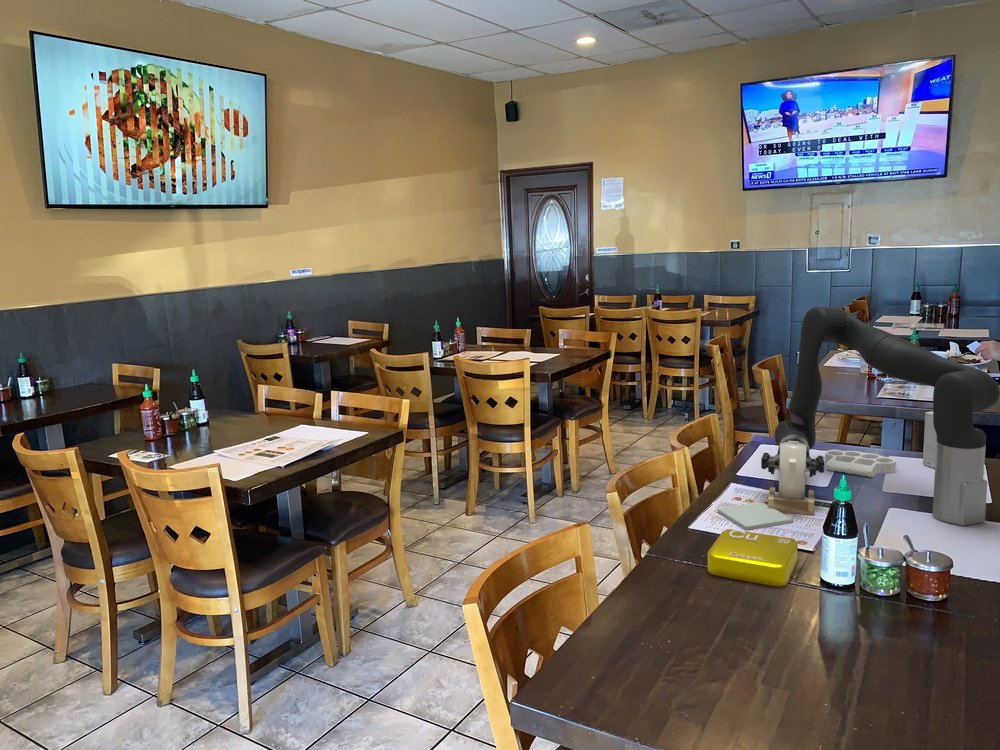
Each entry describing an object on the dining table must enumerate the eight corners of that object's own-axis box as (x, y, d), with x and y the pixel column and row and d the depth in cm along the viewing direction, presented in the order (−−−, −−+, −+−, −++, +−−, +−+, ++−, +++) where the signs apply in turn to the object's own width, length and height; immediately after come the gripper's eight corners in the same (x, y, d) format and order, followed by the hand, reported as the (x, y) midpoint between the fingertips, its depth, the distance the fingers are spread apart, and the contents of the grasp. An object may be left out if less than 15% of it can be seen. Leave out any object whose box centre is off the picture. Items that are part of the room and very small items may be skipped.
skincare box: (939, 470, 199) (942, 416, 196) (921, 464, 204) (923, 411, 202) (964, 466, 201) (967, 412, 198) (945, 460, 207) (948, 407, 204)
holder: (769, 498, 185) (770, 487, 185) (813, 502, 181) (814, 490, 181) (768, 511, 177) (768, 499, 177) (813, 514, 174) (814, 502, 173)
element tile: (704, 575, 148) (704, 552, 147) (724, 546, 160) (724, 525, 160) (785, 590, 140) (785, 566, 139) (799, 558, 153) (799, 536, 152)
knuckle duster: (813, 470, 205) (833, 457, 216) (884, 482, 193) (901, 467, 204) (814, 459, 205) (833, 446, 215) (885, 470, 193) (901, 455, 203)
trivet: (792, 522, 170) (792, 518, 170) (746, 530, 167) (746, 526, 167) (761, 504, 182) (761, 501, 181) (717, 512, 179) (717, 508, 178)
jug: (778, 499, 184) (780, 440, 182) (804, 501, 182) (806, 441, 179) (777, 513, 176) (779, 451, 173) (804, 515, 174) (806, 453, 171)
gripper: (764, 436, 194) (760, 454, 179) (824, 439, 188) (825, 458, 174) (763, 464, 195) (759, 484, 180) (823, 468, 190) (824, 489, 175)
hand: (791, 471), depth 177 cm, fingers open, 8 cm apart
